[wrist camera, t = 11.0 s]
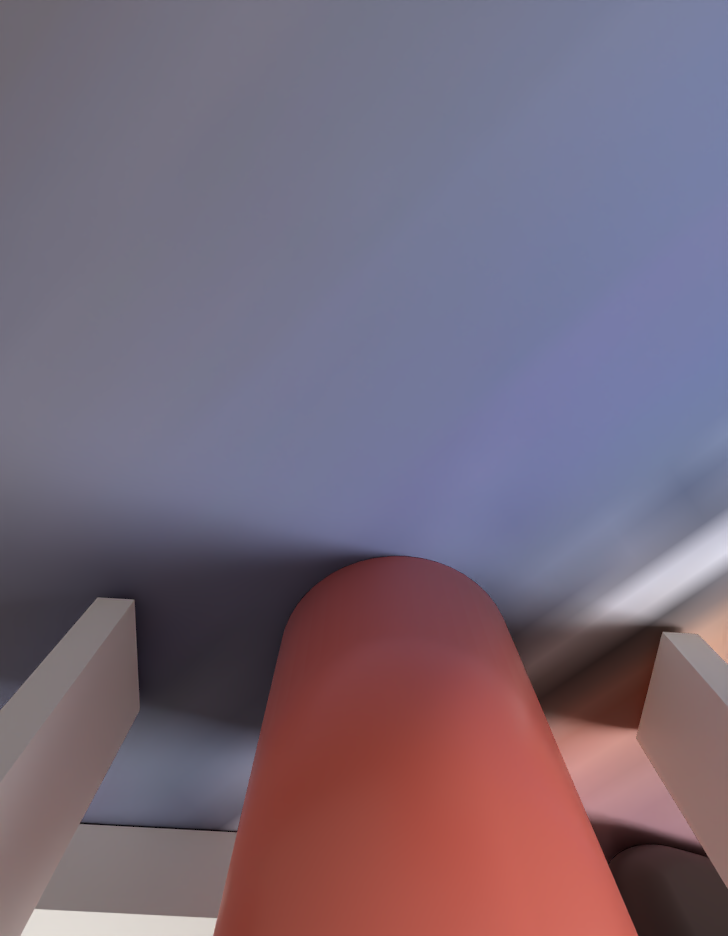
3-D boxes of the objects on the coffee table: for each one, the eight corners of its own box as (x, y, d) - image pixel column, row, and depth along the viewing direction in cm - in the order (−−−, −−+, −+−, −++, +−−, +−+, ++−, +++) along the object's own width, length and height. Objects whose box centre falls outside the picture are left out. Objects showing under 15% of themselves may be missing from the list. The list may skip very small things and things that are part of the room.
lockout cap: (283, 548, 12) (57, 1283, 3) (527, 564, 12) (976, 1318, 3) (276, 748, 13) (109, 1637, 5) (494, 761, 13) (742, 1650, 5)
